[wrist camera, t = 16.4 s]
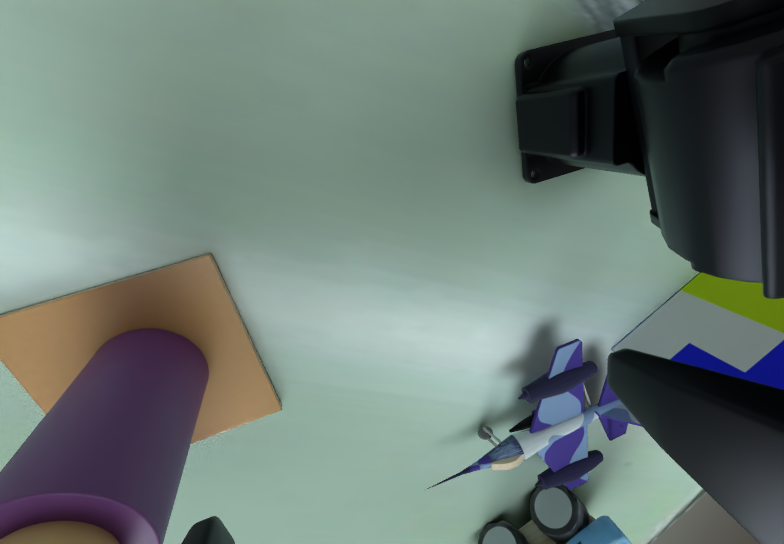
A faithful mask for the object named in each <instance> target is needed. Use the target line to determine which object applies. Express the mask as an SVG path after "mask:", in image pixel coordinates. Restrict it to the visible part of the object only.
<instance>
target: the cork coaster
mask: <svg viewBox="0 0 784 544" xmlns="http://www.w3.org/2000/svg"><path fill="white" fill-rule="evenodd" d="M139 329H159V330H166V331H169V332H173V333H176V334H178V335H181V336H183V337H185V338H186V339H188V340H189V341H191V342H192V343H193V344H195V345H196V346H197V347H198V348H199V349H200V351H201V352H202V353H203V355H204V357H205V359H206V361H207V364H208V368H209V378H208V382H207V386H206V390H205V393H204V397H203V400H202V404H201V408H200V411H199V415H198V418H197V422H196V426H195V429H194V433H193V436H192V440H191V444H192V443H195V442H197V441H200V440H203V439H205V438H208V437H211V436H213V435H216V434H219V433H221V432H224V431H227V430H229V429H232V428H235V427H238V426H240V425H243V424H246V423H248V422H251V421H254V420H256V419H259V418H262V417H264V416H267V415H270V414H272V413H275V412H278V411H280V410H282V405H281V403H280V401H279V398H278V396H277V394H276V392H275V390H274V388H273V386H272V383H271V381H270V379H269V377H268V375H267V373H266V371H265V368H264V366H263V364H262V362H261V360H260V358H259V355H258V353H257V351H256V349H255V347H254V345H253V343H252V340H251V338H250V336H249V334H248V332H247V330H246V328H245V325H244V323H243V321H242V319H241V317H240V315H239V312H238V310H237V308H236V306H235V304H234V302H233V300H232V297H231V295H230V293H229V291H228V289H227V287H226V284H225V282H224V280H223V278H222V276H221V274H220V272H219V269H218V267H217V265H216V263H215V261H214V259H213V257H212V254H211V253H209V254H205V255H202V256H199V257H195V258H192V259H188V260H185V261H182V262H178V263H175V264H171V265H168V266H165V267H161V268H158V269H154V270H151V271H148V272H144V273H141V274H137V275H134V276H131V277H127V278H124V279H120V280H117V281H114V282H110V283H107V284H103V285H100V286H97V287H93V288H90V289H86V290H83V291H80V292H76V293H73V294H69V295H66V296H63V297H59V298H56V299H52V300H49V301H46V302H42V303H39V304H35V305H32V306H29V307H25V308H22V309H18V310H15V311H12V312H8V313H5V314H1V315H0V360H1V361H2V362H3V364H4V365H5V366H6V367H7V368H8V370H9V371H10V372H11V373H12V374H13V376H14V377H15V378H16V379H17V380H18V382H19V383H20V384H21V385H22V386H23V387H24V389H25V390H26V391H27V392H28V393H29V395H30V396H31V397H32V398H33V399H34V401H35V402H36V403H37V404H38V405H39V407H40V408H41V409H42V410H43V411H44V413H45V414H47V413H48V412H49V411H50V409H51V408H52V407H53V406H54V404H55V403H56V402H57V401H58V399H59V398H60V397H61V396H62V394H63V393H64V392H65V391H66V389H67V388H68V387H69V386H70V384H71V383H72V382H73V381H74V379H75V378H76V377H77V376H78V374H79V373H80V372H81V371H82V369H83V368H84V367H85V366H86V364H87V363H88V362H89V361H90V359H91V358H92V357H93V356H94V354H95V353H96V352H97V351H98V349H99V348H100V347H101V346H102V345H103V344H104V343H106V342H107V341H109V340H110V339H112V338H113V337H115V336H117V335H120V334H122V333H125V332H129V331H133V330H139Z"/></svg>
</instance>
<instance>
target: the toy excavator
mask: <svg viewBox="0 0 784 544" xmlns="http://www.w3.org/2000/svg"><path fill="white" fill-rule="evenodd" d="M530 513H531V517H532V520H531V521H530V522H528V523H527V524H526V525H524V526H523V527H522V528H520V529H519V530H518V529H517V528H516V527H515V526H513V525H512V524H511V523H509V522H507V521H501V520H500V521H499V522H497V523H490V524H487V525H486V526H485V527H484V529H483V531H482V532H481V534H480V537H479V540H478V544H632V543H631V542H630V541H629V540H628V538H627V537H626V536H625V535H624V534H623V532H622V531H621V530H620V529H619V528H618V527H617V525H616V524H615V523H614V522H613V521H612V520H611V519H610V518H609V517H608V516H601V517H599V518H597V519H596V520H595V519H594V518H593V517H592V516H591V515H589V513H588V512H587V509H586V507H585V505H584V504H583V503H582V502H581V500H580V499H579V498H578V496H576V494H574V492H573V491H572V490H569V489H568V488H567V486H565V485H563V484H562V485H559V486H556V487H552V488H549V489H547V490H545V489H544V488H543V487H542V486H538V487H537V488H536V490H535V492H534V493H533V494H532V496H531V500H530Z"/></svg>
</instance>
